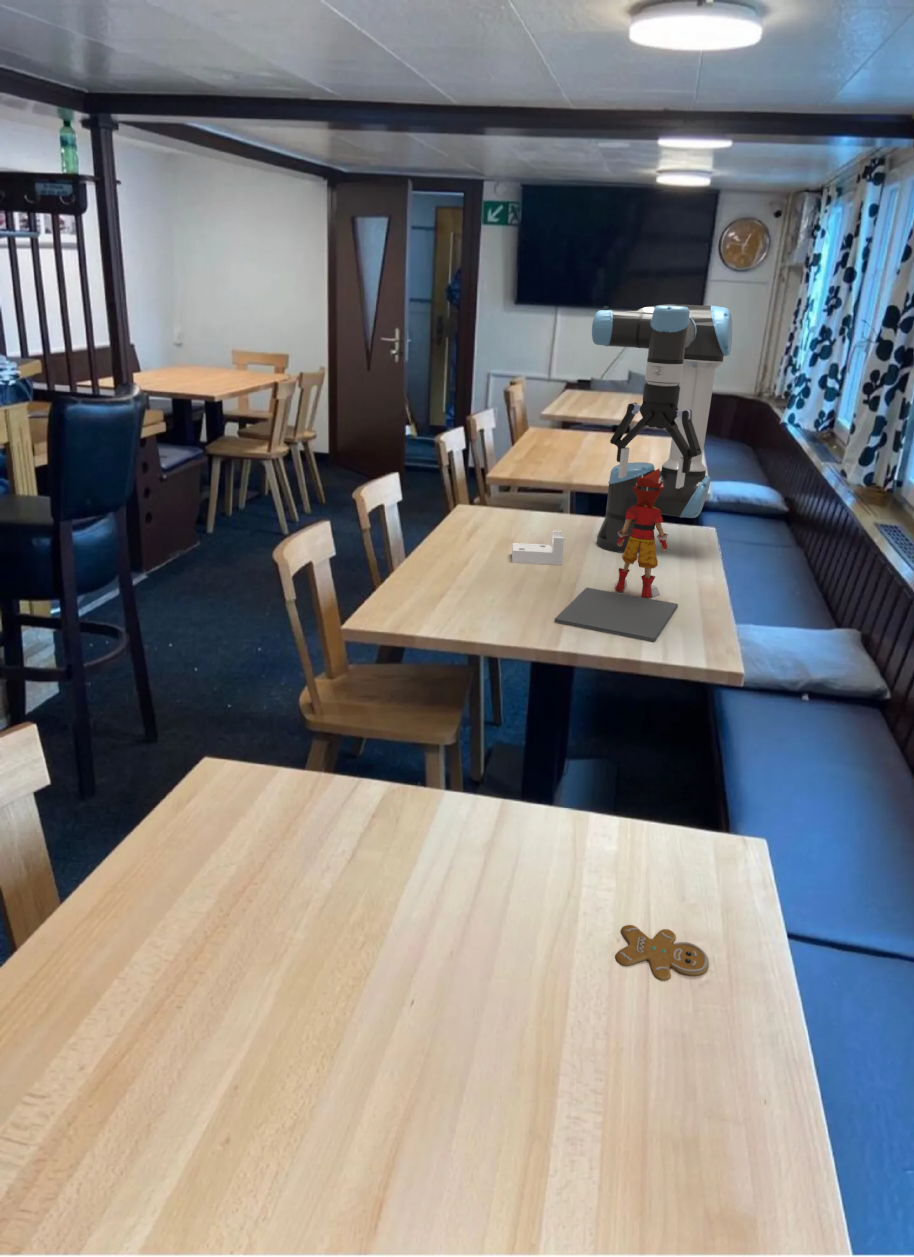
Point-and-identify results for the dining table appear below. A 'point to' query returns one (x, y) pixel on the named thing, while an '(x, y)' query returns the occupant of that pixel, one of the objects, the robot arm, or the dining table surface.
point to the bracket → (540, 551)
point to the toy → (643, 533)
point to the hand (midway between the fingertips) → (650, 482)
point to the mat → (618, 614)
